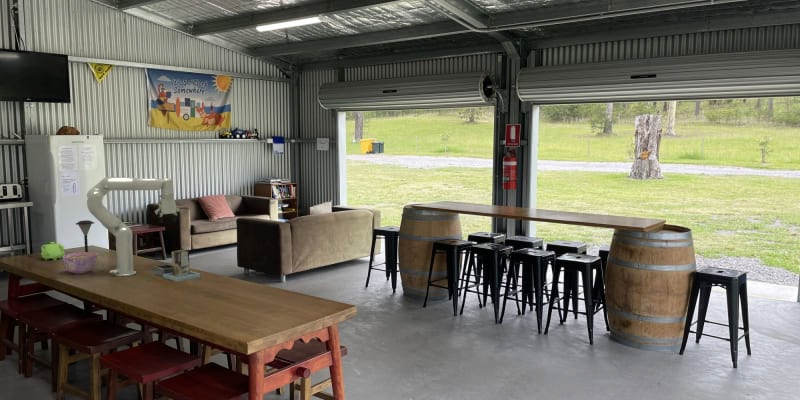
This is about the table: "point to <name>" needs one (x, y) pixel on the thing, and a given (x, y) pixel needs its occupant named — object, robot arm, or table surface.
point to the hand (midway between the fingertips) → (167, 222)
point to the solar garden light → (85, 230)
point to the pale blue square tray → (177, 279)
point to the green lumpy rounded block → (52, 251)
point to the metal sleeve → (163, 269)
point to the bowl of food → (80, 262)
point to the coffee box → (180, 263)
